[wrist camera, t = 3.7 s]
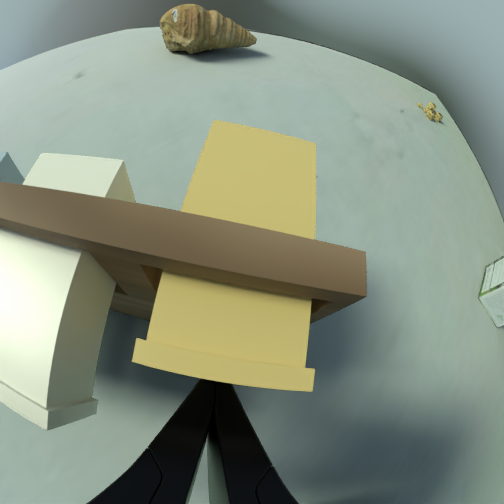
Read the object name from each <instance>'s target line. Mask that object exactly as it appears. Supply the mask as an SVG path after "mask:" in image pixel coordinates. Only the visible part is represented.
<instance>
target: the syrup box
mask: <svg viewBox="0 0 504 504" xmlns="http://www.w3.org/2000/svg"><path fill="white" fill-rule="evenodd" d="M479 300H480V301H481V303H482V305H483V306H484V308H485V310H486V311H487V313H488V314H489V316H490V317H491V319H492V321H493V322H494V324H495V325H496V327H500V326H503V325H504V256H502V257H501V258H499V259H498V260H496V261H494V262H492V263H491V264H489V265H487V266H486V269H485V274H484V278H483V283H482V287H481V291H480V295H479Z"/></svg>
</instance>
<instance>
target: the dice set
mask: <svg viewBox="0 0 504 504" xmlns="http://www.w3.org/2000/svg"><path fill="white" fill-rule="evenodd" d="M418 106H419V107H420V108H422V107H423V105H421V104H420V103H419V102H418ZM435 108H436V105H435V104H434V103H432V102H430V103H429V105H428V106H427V108H426V109H425V108H424V109H423V111H424V112H425V113H426V117H427V118H428V119H430V120H433V119H435V120H436V121H437V122H440V121H441V119H442V118H443V116H442V115H441V114H440V113H439V112H436V114H435V113H434V112H433V111H434V110H435Z"/></svg>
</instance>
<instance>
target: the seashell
mask: <svg viewBox="0 0 504 504" xmlns="http://www.w3.org/2000/svg"><path fill="white" fill-rule="evenodd" d="M160 28H161V29H162V33H163V35H162V36H163V39H164V42H165V45H166V48H167V49H168V50H169V51H187V52H188V53H190V54H195V53H198V52H202V51H205V50H212V49H219V48H233V47H248V46H251V45H253V44H256V41H257V39H256V37H254V35H252V34H251V33H249V31H245V29H244V28H242V27H241V26H240V25H237V24H235V22H233V21H232V20H231V19H229V18H225V17H223V15H222V14H220V13H218V12H217V11H215V10H211V11H207V10H205V9H204V8H202V7H201V6H198V5H196V4H183V5H180V6H177V7H175V8H173V9H171V10H169V11H168V12H167V13H165V14H164V15H163V17H162V18H161V20H160Z"/></svg>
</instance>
